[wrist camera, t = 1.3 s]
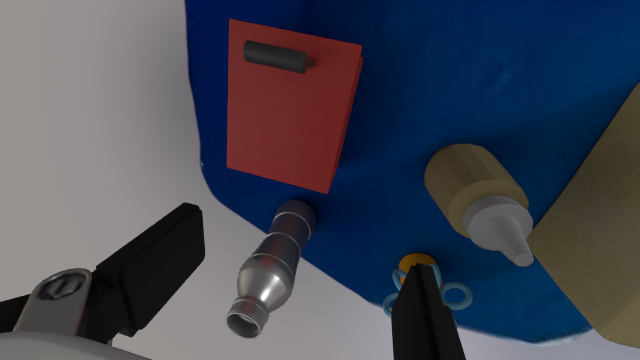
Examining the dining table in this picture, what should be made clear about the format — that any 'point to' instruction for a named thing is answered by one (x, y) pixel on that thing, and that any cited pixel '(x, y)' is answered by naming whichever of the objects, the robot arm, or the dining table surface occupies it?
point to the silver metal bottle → (271, 270)
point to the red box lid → (287, 103)
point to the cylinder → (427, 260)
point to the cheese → (600, 231)
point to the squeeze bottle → (481, 200)
